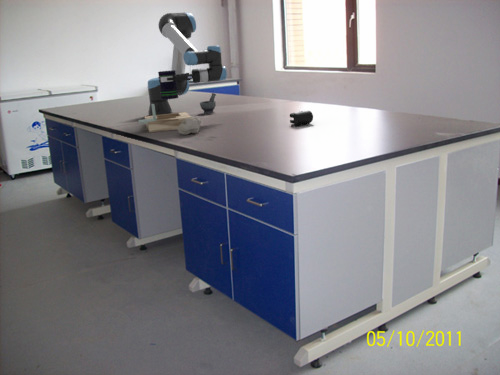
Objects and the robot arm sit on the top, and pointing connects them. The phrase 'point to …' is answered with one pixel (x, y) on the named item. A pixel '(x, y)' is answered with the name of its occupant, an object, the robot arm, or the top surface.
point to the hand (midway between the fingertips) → (159, 79)
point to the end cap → (301, 118)
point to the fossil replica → (189, 126)
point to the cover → (149, 119)
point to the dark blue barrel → (168, 86)
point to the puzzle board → (166, 121)
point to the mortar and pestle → (208, 105)
